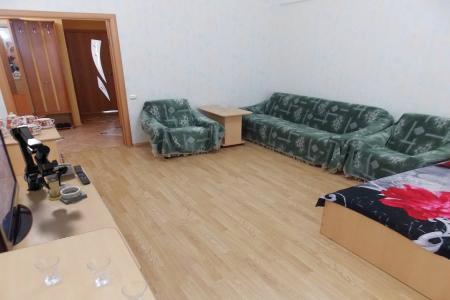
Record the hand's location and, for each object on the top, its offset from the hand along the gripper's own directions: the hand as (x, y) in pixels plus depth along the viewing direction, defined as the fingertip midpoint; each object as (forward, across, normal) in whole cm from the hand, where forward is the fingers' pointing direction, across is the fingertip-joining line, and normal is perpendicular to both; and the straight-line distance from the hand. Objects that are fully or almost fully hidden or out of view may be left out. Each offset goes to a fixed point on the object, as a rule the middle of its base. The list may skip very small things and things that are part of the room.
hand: (54, 187), depth 150 cm
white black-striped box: (-21, +18, +39) cm, 48 cm away
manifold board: (0, +10, +18) cm, 20 cm away
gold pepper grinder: (+4, 0, +6) cm, 7 cm away
